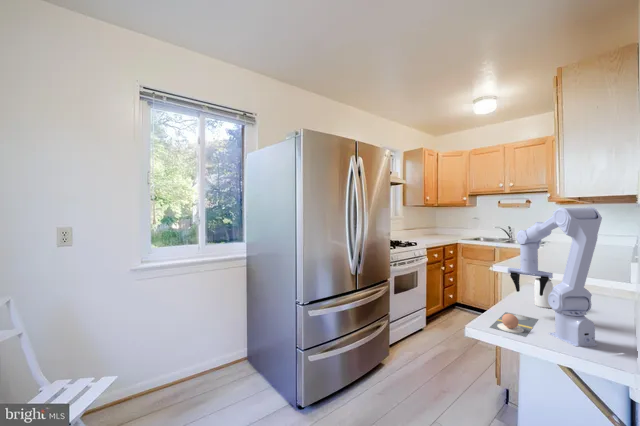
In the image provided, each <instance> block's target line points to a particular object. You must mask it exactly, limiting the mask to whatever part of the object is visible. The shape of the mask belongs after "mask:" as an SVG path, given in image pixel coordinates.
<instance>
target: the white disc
mask: <svg viewBox="0 0 640 426" xmlns="http://www.w3.org/2000/svg"><path fill="white" fill-rule="evenodd" d="M497 327H498V328H499V329H501V330H504V331H507V332H506V333H508V332H512V333H522V332H524V329H523V328H521V327H519V326H517V327H515V328H508V327H506V326H505V325H504V324H503V323H500V324H498V325H497ZM504 331H503V332H504ZM512 333H511V334H512Z"/></svg>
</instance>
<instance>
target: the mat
mask: <svg viewBox="0 0 640 426" xmlns="http://www.w3.org/2000/svg"><path fill="white" fill-rule="evenodd" d="M505 314H513V315H514V316H516V317H517V319H518V322H519V323H518V326H519V327H521V328H523V329H524V332H522V333H512V332H507V331H504V330H501V329H499V328H498V327H497V325H498V324H500V323H503V322H502V317H503V315H505ZM538 321H539V318H536V317H535V318H534V317H529V316H525V315H522V314H516V313H512V312H507V311H505V312H504V313H503V314H502V315H501V316H500V317H499V318H498V319H496V321H494V322H493V323H492V324H491V325H490V326H489V329H493V330H497V331H501V332H505V333H509V334H513V335H517V336H520V337H524V338H527V336H528V335H529V333H530V332H531V330H532V329H533V328H534V326H535V325H536V323H537V322H538Z"/></svg>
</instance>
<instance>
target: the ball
mask: <svg viewBox="0 0 640 426" xmlns="http://www.w3.org/2000/svg"><path fill="white" fill-rule="evenodd" d="M513 314H514V313H512V314H505V315H503V314H502V315H503V317H502V322H503V324H504V325H505V326H506V327H508V328H515V327H517V326H518V323H519V322H518V319H517V317H516V316H514V315H513Z"/></svg>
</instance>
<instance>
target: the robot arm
mask: <svg viewBox="0 0 640 426" xmlns="http://www.w3.org/2000/svg"><path fill="white" fill-rule="evenodd" d="M602 219H603V217H602V215H601V214H600V213H599V211H598V210H597V209H596V208H595V207H593V206H592V207H591V206H589V207H559V208H557V209H556V210H554V211H553V214H552V216H550V217H549V218H547V219H546V220H545V221H544V222H543V221H536V222H535V223H534V224H533V225H531V226H529V227H528V228H527V229H526V230H525V229H524V230H523V229H520V230H519V231H517V233H516V240H517V243H518V244H520V245H519V250H520V253H519V255H520V258H519V261H520V266H519V267H520V268H518V267H517V268H516V267H508V268H507V274H510V275H509V276H510V278H511V280H512V282H513V283H514V286H515V291H516V292H518V293H519V292H520V289H521V288H520V287H521V286H520V275H524V276H532V277H537V278H539V281H540V296H542V295H543V291H544V288H545V285H546V283H547V282H548V280H549V279H550V280H551V279H553V278H554V277H553V275H554V273H553V272H550V271H549V272H548V271H541V270H539V249H540V244H541V242H542V240H543V239H545V238H547V237H548V236H551V234H552V233H553V232H552V231H553V230H555V229H557V228H560V230H561V231H562V232H563V234H564V235H566V236H568V237H570V238H571V239H572V240H571V244H570V248H569V252H568V256H567V260H566V263H565V269H564V272H563V276H562V280H561V282H560V283H558V284H556V285H555V286H553V289H552V292H551V293H550V294H549V296H548V302H549V305H550V306H551V308H550V309H552V310H553V311H554V316H555V317H554V319H555V320H554V322H555V323H554V327H555V328H554V329H555V330H554V331H555V332H554V331H553V332H548V335H550V336H552V337H554V338H557V339H558V340H560V341H562V342H565V343H567V344H569V345H571V346H573V347H589V346H591V347H592V346H598V343H596V328H595V324H594V322H593V321H592V320H591V319H589V318H588V317H586V316H587V315H588V314H587V312H589V311H590V310H591V309H592V300H591V299H592V296H593V295H592V293H591V292H590V291H589V290H588V289H587V288H585V286H586V285H585V284H586V282H587V279H588V275H589V270H590V266H591V264H592V259H593V256H594V254H595V253H594V252H595V249H596V245H597V242H598V235H599V230H600V227H601V223H602Z"/></svg>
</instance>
